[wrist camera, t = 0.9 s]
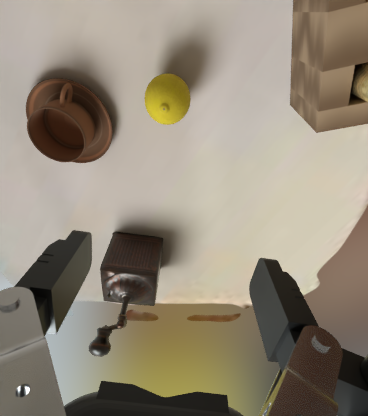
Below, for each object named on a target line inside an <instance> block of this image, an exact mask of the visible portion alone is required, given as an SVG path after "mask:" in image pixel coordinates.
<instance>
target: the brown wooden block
mask: <svg viewBox="0 0 368 416" xmlns="http://www.w3.org/2000/svg"><path fill="white" fill-rule="evenodd" d="M366 62H368V0H293V28H292V61H291V94H290V105H291V106H292V107H293V108H294V109H295V110H296V112H297V113H298V114H299V115H300V116H301V117H302V118H303V119H304V120H305V121H306V122H307V123H308V124H309V125H310V126H311V127H312V128H313V129H314V131H315V132H316V133H318V132H324V131H329V130H335V129H340V128H346V127H351V126H357V125H363V124H368V102H367V101H365V100H363V99H361V98H359V97H358V96H356V95H354V94H352V93H350V92H351V86H352V80H353V74H354V68H355V65H357V64H362V63H366Z"/></svg>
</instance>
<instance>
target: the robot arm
mask: <svg viewBox="0 0 368 416" xmlns="http://www.w3.org/2000/svg"><path fill="white" fill-rule="evenodd" d="M91 262H92V236H91V233H89V232H83V231H76V230H73V231H72V232H71V233H70V235H69V236H68V237H67V239H66V240H60V239H59V240H57V241H56V242H54V243H52V244H51V245H49V246H48V247H47V248H46V250H45V251H44V252H43V253H42V255H41V256H40V257H39V258H38V259H37V261H36V262H35V263H34V264H33V265H32V266H31V267H30V269H29V270H28V271H27V272H26V273H25V275H24V276H23V277H22V278H21V279H20V281H19V282H18V283H17V284H16V285H15V286H14V287H11V288H8V289H4V290H2V291H0V416H243V415H241V414H240V413H239V412H237V411H236V410H234V409H232V408H230V407H228V400H227V395H220V394H211V393H203V392H193V393H188V394H182V395H177V396H172V397H161V396H159V395H156V394H154V393H152V392H149V391H147V390H145V389H142V388H140V387H138V386H135V385H133V384H124V383H115V382H106V381H101V384H100V387H99V391H98V392H93V393H90V394H87V395H84V396H81V397H79V398H77V399H75V400H73V401H72V402H70V403H68V404H67V405H65V406H64V405H63V402H62V398H61V394H60V390H59V386H58V382H57V379H56V375H55V371H54V367H53V364H52V359H51V356H50V352H49V348H48V344H47V341H46V338H45V337H44V336H45V335H46V333H51V334H57V332H58V330H59V328H60V326H61V324H62V322H63V320H64V318H65V316H66V315H67V313H68V311H69V309H70V307H71V305H72V303H73V301H74V299H75V297H76V295H77V293H78V292H79V290H80V288H81V286H82V284H83V282H84V280H85V278H86V276H87V274H88V272H89V270H90V267H91ZM249 291H250V297H251V301H252V304H253V308H254V311H255V315H256V319H257V322H258V326H259V330H260V333H261V337H262V341H263V344H264V348H265V352H266V355H267V358H268V361H271V362H278V363H279V366H280V370H279V372H278V374H277V376H276V378H275V380H274V382H273V385H272V387H271V389H270V391H269V394H268V396H267V398H266V400H265V403H264V405H263V407H262V409H261V411H260V414H259V416H337V415H338V416H368V355H367V356H366V357H365V358H364V357H362V356H359V355H357V354H354V353H352V352H350V351H347V350H345V349H342V348H341V345H340V344H339V342H338V341H337V339H336V338H335V337H334V336H333V335H332V334H330V333H329V332H328V331H326V330H325V329H323V328H321V327H319V326H318V324H317V322H316V320H315V318H314V316H313V314H312V313H311V310H310V308H309V306H308V305H307V303H306V301H305V299H304V297H303V295H302V293H301V292H300V289H299V287H298V285H297V283H296V281H295V280H294V279H293V278H292V277H291V276H290V275H289V274H288V273H287V272H283V271H282V269H281V267H280V265H279V262H278V261H277V260H273V259H266V258H260V259H259V260H258V263H257V266H256V268H255V271H254V274H253V276H252V279H251V282H250V288H249Z"/></svg>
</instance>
